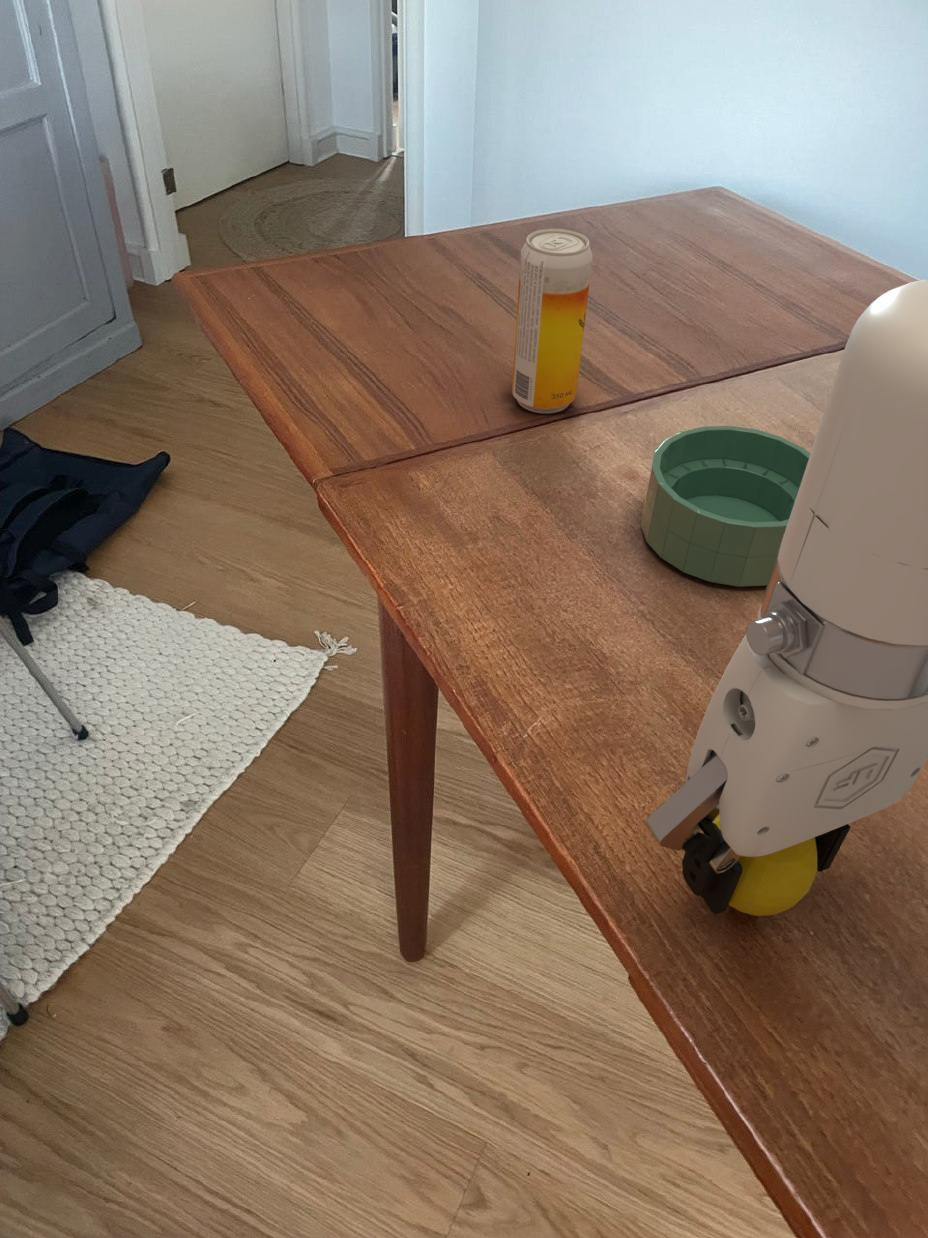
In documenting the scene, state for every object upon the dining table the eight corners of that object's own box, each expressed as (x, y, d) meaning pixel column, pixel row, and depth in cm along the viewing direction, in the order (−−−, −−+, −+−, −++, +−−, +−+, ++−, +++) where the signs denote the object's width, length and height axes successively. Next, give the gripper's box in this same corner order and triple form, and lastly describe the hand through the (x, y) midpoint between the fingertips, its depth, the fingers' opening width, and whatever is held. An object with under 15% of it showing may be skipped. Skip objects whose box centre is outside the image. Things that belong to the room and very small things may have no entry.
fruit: (797, 954, 48) (844, 869, 43) (688, 932, 49) (721, 847, 43) (791, 862, 52) (834, 774, 47) (691, 843, 53) (721, 754, 47)
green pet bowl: (846, 566, 71) (871, 502, 67) (700, 609, 67) (718, 544, 63) (744, 474, 80) (761, 413, 76) (610, 507, 76) (620, 444, 72)
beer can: (588, 399, 89) (608, 240, 78) (547, 423, 85) (563, 260, 75) (539, 377, 92) (552, 221, 81) (498, 399, 88) (506, 239, 78)
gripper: (736, 748, 31) (649, 995, 44) (1103, 619, 36) (933, 872, 49) (623, 607, 36) (574, 864, 49) (960, 511, 41) (838, 766, 54)
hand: (754, 866), depth 48 cm, fingers closed on fruit, 5 cm apart
